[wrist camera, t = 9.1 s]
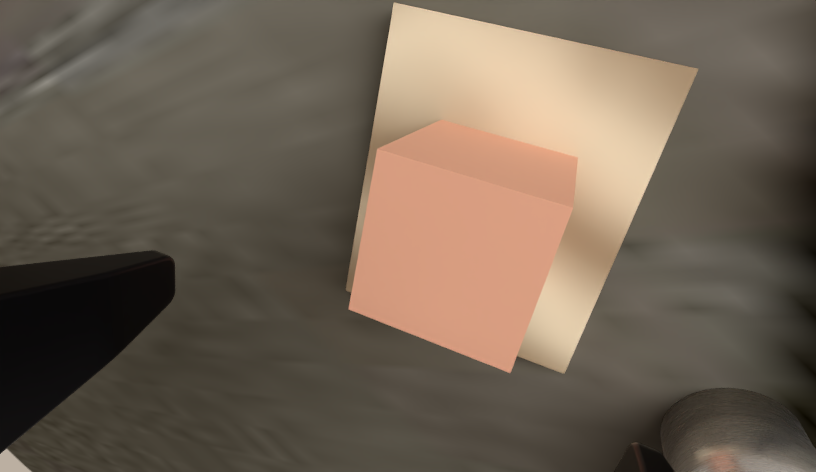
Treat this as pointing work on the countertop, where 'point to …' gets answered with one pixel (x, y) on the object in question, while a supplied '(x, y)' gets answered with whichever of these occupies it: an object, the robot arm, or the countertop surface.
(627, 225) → the birch board
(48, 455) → the countertop surface
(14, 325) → the robot arm
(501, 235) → the terracotta block
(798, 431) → the grey cylinder
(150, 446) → the countertop surface
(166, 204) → the countertop surface
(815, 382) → the countertop surface
